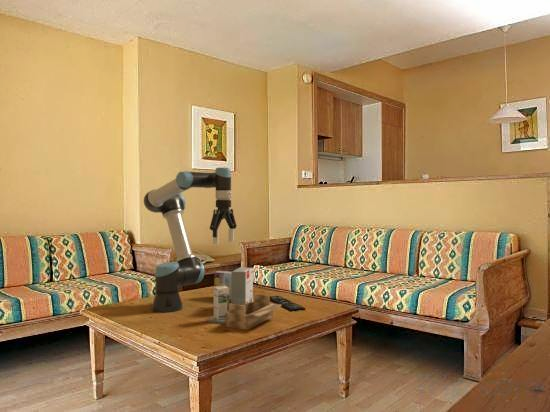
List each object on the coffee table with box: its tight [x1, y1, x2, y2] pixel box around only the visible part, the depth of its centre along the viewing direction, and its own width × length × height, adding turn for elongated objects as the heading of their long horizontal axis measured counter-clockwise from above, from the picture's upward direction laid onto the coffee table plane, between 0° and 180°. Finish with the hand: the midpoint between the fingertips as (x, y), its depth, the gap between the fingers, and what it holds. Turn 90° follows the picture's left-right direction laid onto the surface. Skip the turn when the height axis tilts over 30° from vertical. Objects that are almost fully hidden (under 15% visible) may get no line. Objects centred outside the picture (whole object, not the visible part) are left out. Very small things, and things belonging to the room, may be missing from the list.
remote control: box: [269, 295, 306, 312], centre depth 234 cm, size 8×32×2 cm, turn 24°
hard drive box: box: [230, 266, 254, 305], centre depth 226 cm, size 16×8×20 cm, turn 168°
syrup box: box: [212, 286, 230, 320], centre depth 203 cm, size 6×6×14 cm
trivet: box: [205, 315, 225, 325], centre depth 203 cm, size 10×10×1 cm
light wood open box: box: [224, 293, 282, 331], centre depth 200 cm, size 17×24×10 cm
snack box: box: [213, 270, 232, 301], centre depth 247 cm, size 21×6×15 cm, turn 59°
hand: (223, 243), depth 214 cm, fingers open, 13 cm apart
